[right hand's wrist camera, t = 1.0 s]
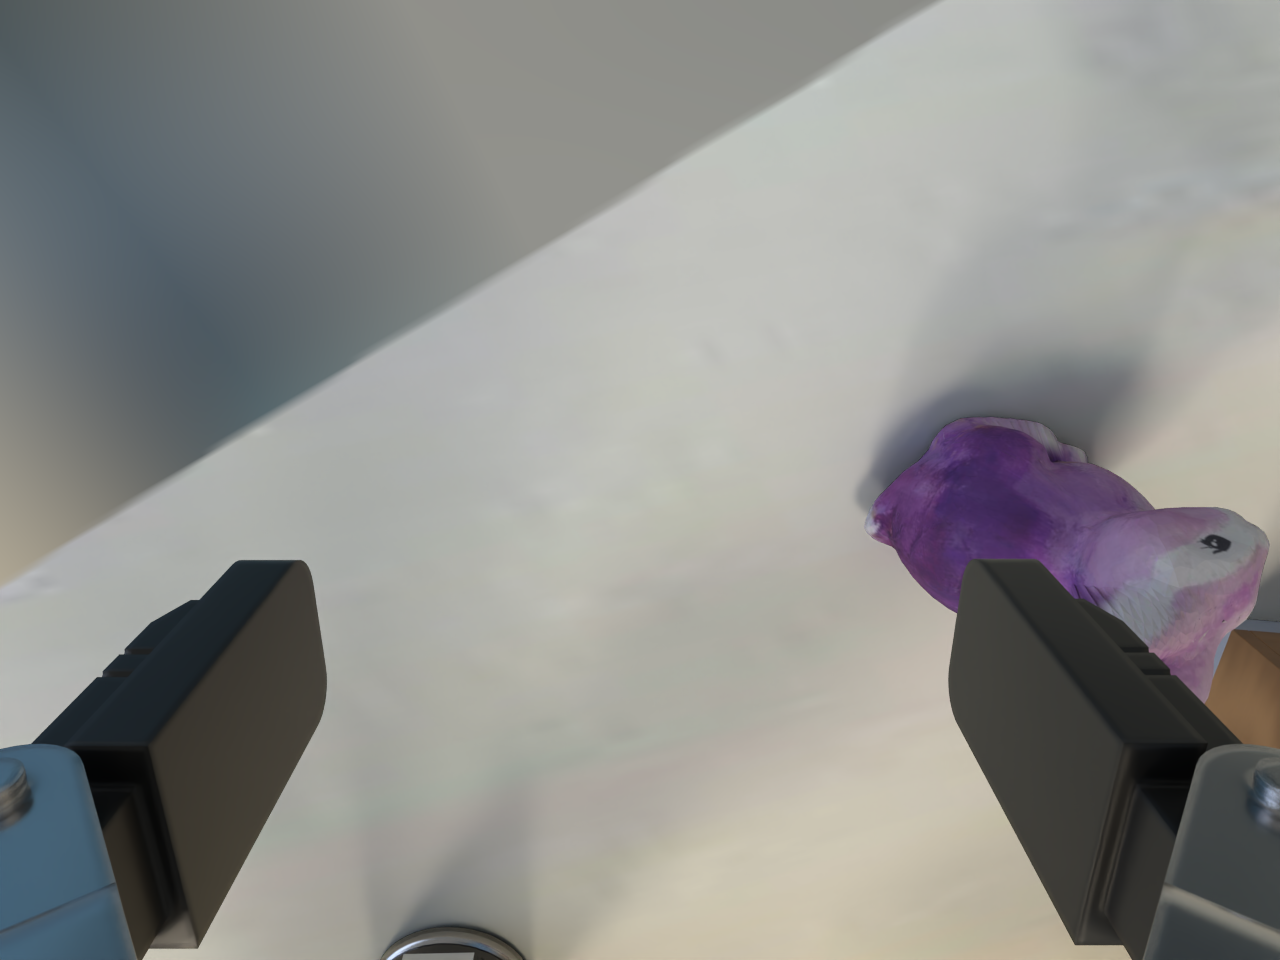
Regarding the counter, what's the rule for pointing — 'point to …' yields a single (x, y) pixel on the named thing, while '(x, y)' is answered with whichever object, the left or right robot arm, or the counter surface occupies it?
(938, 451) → the figurine
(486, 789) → the counter surface
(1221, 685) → the chest
